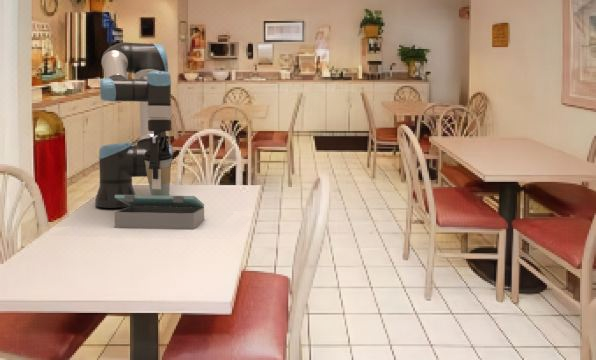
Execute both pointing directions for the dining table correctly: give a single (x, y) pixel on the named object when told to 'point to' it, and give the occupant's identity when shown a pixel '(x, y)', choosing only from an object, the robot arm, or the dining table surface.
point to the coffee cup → (165, 172)
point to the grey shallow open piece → (159, 217)
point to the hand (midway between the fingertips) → (160, 187)
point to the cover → (160, 200)
